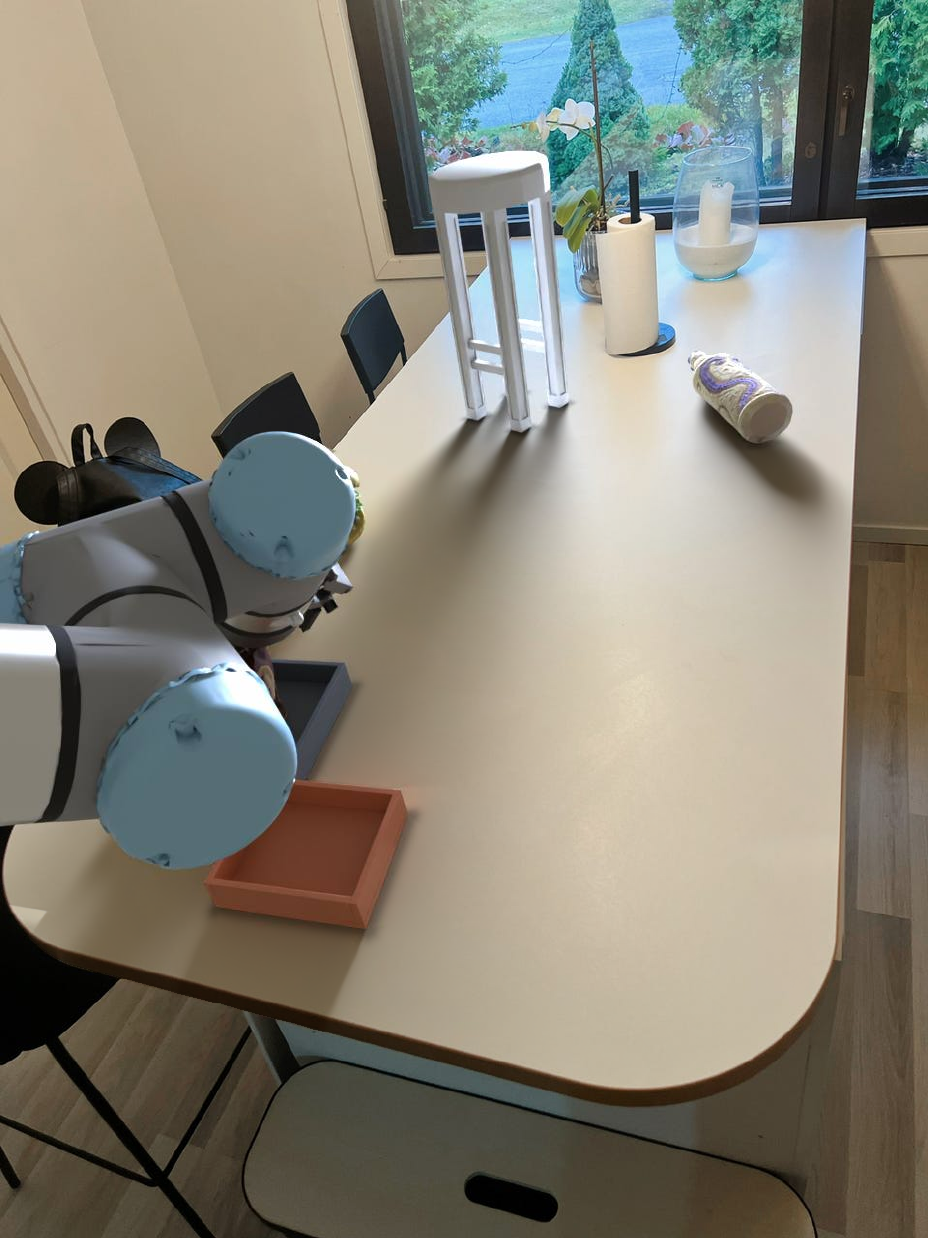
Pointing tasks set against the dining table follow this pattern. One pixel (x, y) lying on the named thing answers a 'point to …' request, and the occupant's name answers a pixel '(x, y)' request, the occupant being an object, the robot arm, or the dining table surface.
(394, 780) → the dining table surface
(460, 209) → the stool
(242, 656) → the labeled brown jar
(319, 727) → the slate tray
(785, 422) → the decorative bottle
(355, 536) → the hamburger
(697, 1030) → the dining table surface
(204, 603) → the robot arm
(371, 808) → the terracotta tray
